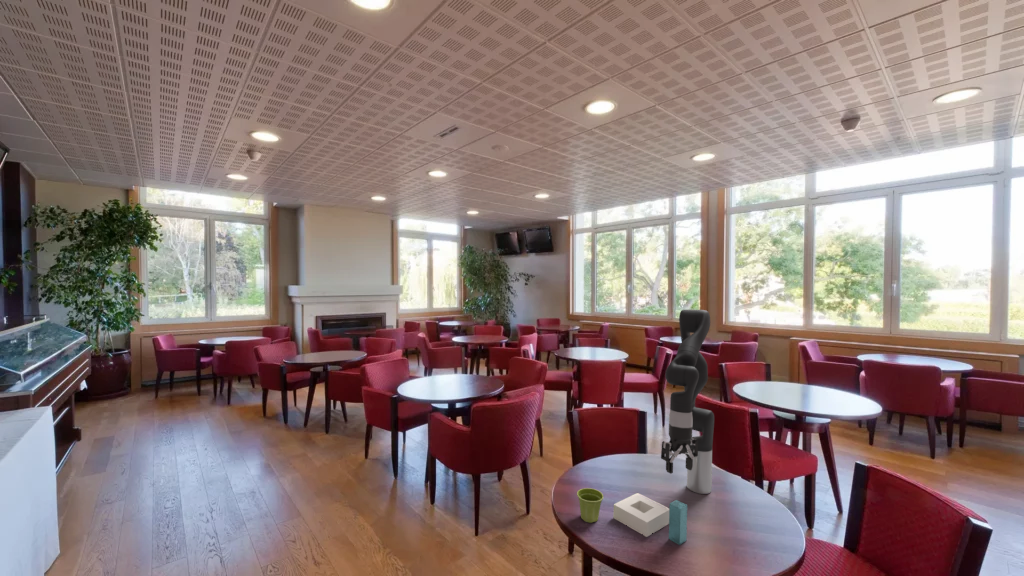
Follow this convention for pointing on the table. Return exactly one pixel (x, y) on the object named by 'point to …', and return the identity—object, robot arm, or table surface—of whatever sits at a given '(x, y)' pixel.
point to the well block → (641, 514)
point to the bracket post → (677, 522)
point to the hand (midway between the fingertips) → (679, 470)
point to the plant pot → (589, 504)
